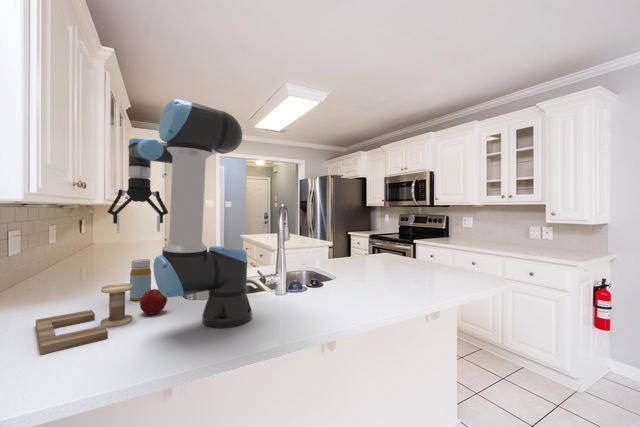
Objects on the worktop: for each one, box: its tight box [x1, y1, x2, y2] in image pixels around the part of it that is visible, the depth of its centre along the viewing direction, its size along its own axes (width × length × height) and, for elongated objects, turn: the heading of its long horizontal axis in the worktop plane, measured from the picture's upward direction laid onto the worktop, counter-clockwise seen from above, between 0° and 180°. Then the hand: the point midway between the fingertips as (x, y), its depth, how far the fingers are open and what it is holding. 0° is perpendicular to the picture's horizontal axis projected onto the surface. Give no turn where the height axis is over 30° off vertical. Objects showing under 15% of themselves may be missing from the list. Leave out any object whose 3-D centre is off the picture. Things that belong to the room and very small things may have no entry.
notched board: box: [35, 309, 109, 355], centre depth 82 cm, size 24×13×2 cm, turn 46°
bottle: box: [129, 258, 152, 302], centre depth 114 cm, size 7×7×15 cm
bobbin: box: [100, 282, 133, 328], centre depth 90 cm, size 8×8×11 cm
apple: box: [139, 288, 168, 315], centre depth 98 cm, size 8×8×8 cm
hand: (138, 232), depth 116 cm, fingers open, 13 cm apart
